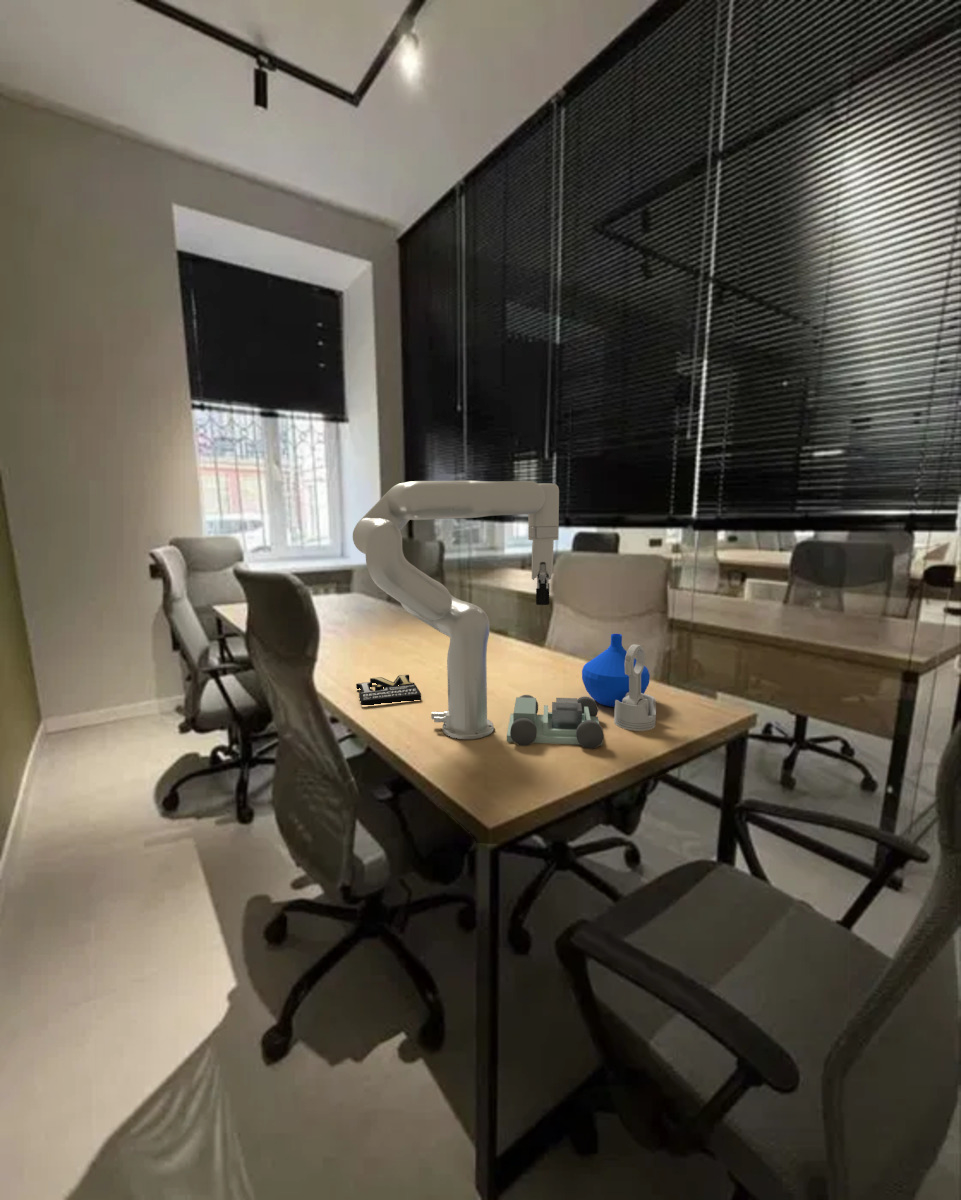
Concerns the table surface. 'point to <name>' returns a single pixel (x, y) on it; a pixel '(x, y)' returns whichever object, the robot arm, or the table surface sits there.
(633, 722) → the engine component
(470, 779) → the table surface
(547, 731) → the chassis
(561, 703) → the block
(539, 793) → the table surface
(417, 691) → the decorative sign
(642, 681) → the vase
